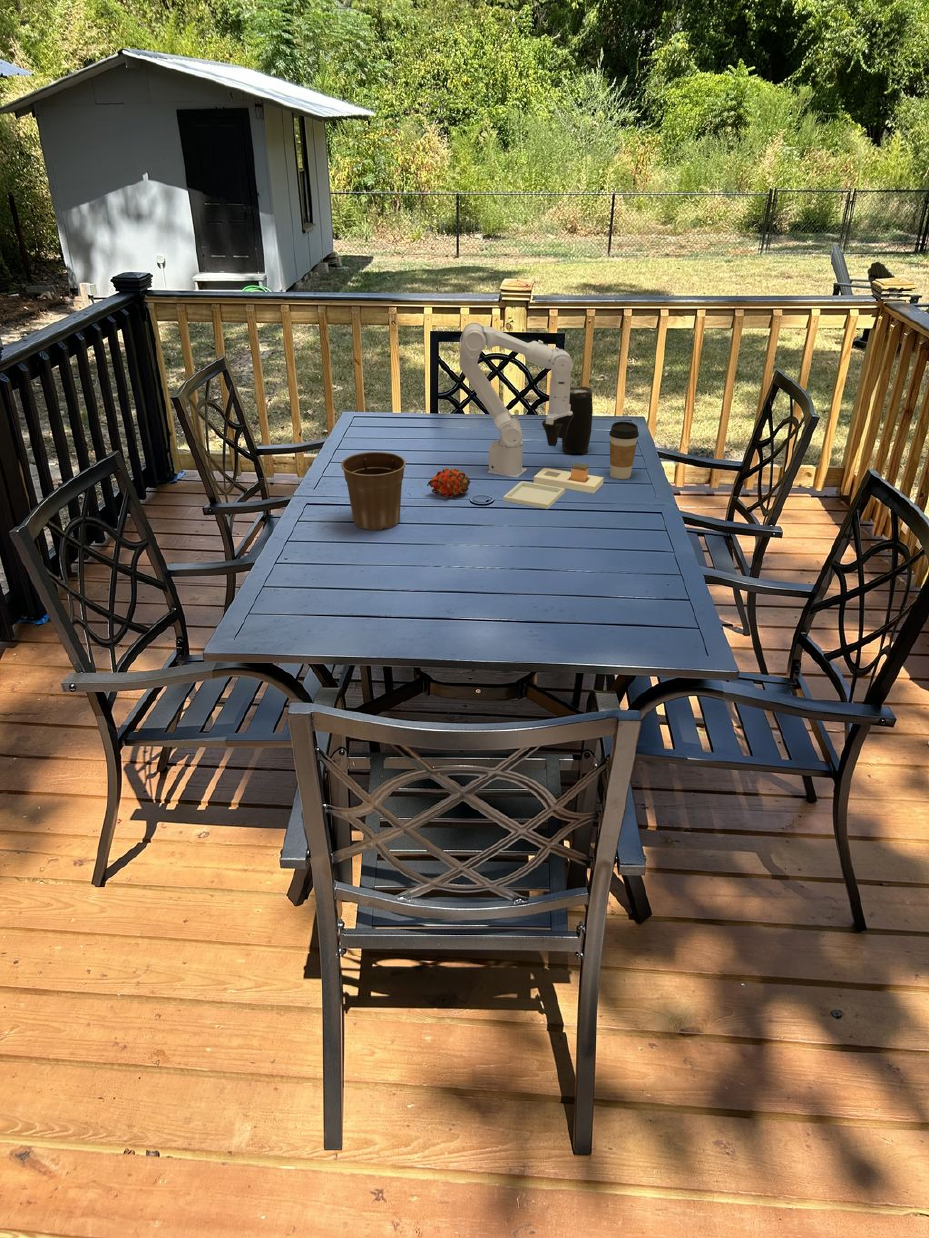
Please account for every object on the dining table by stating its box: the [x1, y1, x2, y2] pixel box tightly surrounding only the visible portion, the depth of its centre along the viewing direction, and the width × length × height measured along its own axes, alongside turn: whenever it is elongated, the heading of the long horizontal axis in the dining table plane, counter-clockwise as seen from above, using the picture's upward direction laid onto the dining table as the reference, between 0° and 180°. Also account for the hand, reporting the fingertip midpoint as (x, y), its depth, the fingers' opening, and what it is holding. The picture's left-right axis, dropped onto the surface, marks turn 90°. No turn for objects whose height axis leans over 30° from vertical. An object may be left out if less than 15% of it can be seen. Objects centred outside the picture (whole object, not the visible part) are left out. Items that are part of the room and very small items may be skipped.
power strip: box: [533, 467, 604, 494], centre depth 257 cm, size 18×8×3 cm, turn 64°
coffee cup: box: [608, 420, 640, 480], centre depth 260 cm, size 8×8×15 cm
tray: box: [502, 480, 566, 510], centre depth 248 cm, size 13×13×2 cm
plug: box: [570, 462, 589, 483], centre depth 254 cm, size 4×3×6 cm
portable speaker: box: [561, 386, 594, 456], centre depth 277 cm, size 9×9×20 cm
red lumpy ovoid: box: [426, 467, 471, 499], centre depth 249 cm, size 8×8×12 cm
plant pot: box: [341, 451, 407, 531], centre depth 231 cm, size 16×16×16 cm
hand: (556, 441), depth 262 cm, fingers open, 7 cm apart
